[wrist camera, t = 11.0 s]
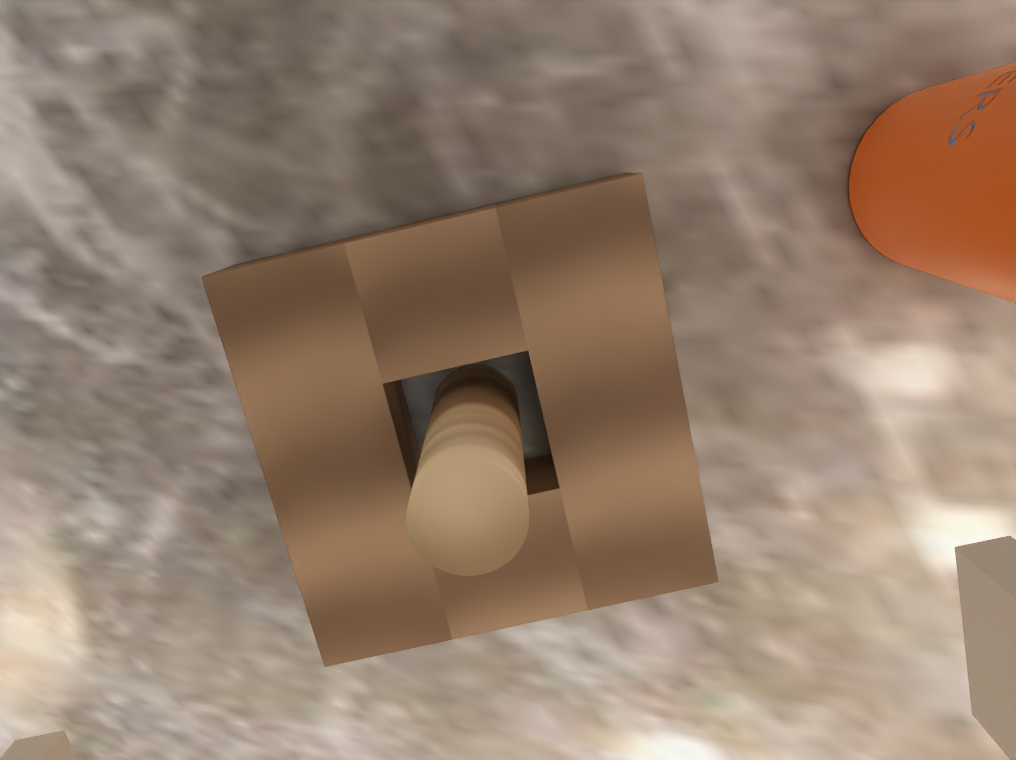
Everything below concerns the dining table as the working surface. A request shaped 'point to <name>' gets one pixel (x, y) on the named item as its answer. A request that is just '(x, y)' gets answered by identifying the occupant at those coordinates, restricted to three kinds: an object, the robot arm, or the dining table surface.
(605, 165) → the dining table surface
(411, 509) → the peg
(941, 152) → the shaker bottle
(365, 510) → the socket block
